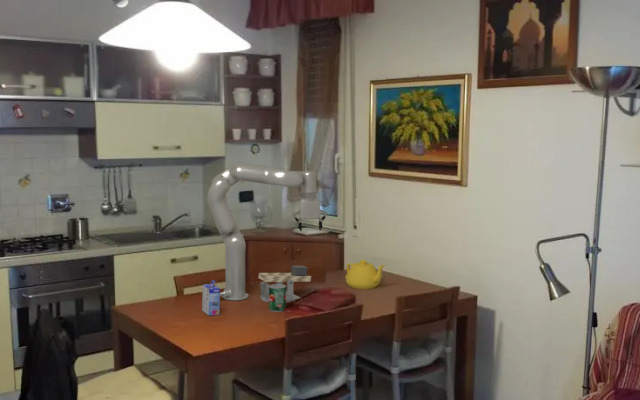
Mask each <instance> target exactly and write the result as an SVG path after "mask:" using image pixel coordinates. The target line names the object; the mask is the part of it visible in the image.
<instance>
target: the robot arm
mask: <svg viewBox="0 0 640 400" xmlns="http://www.w3.org/2000/svg"><path fill="white" fill-rule="evenodd" d="M241 181H242V182H250V183H258V184H263V185H271V186H272V185H273V186H274V185H275V186H278V187H279V186H280V187H288V188H293V189H296V188H299V187H301V191H300V193H299V194H298V197H299V198H300V200H299V210H297V211H295V212H294V213H292V218H294V220H295V221H296V222H297V224H298V225H297V226H298V230H299V231H300V232H302V230H303V227H302V221H303V220H316V219H317V220H318V230H319V231H322V228H323V222H324V221H325V219H326V217H327V215H328V212H327V211H325V210H322V209H321V203H320V199H319V197H318V191H317V173H316V171H315V170H303V171H302V170H301V171H299V170H297V171H296V170H290V171H289V170H282V169H277V168H274V167H271V166H267V165H258V164H252V163H245V162H241V161H237V162H235V163H233V164H232V165H230V166H229V167H227V168H226V169H225V170H223V171H221V172H220V173H219V174H218V175H216V176H214V177H213V179H212V180H211V185H210V187H209V189H208V191H207V195H206V197H207V205H208V208H209V210H210V213H211V215H212V217H213V220H214V223H215V226H216V228H217V230H218V233H219V235H220V238H221V239H222V242H223V244H224V246H225V247H224V248H225V253H224V254H225V255H224V257H225V258H224V259H225V263H224V264H225V266H224V267H225V268H224V269H225V274H224V275H225V288H224V289H223V291H222V292H221V291H220V297H222V299H223V300H225V301H226V300H227V301H242V300H246V299H248V298H249V293H246V250H247V249H246V247H247V246H246V240H245V238H244V236H243V235H242V233H241V231H240V228H239V227H238V224H237V222H236V219H235V216H234V215H233V214H232V211H231V209H230V207H229V205H228V202H227V200H226V199H227V198H226V196H227V193H228V192H229V190H230V188H231V187H232V186H234V185H235V184H237V183H239V182H241ZM321 214H322V215H323V216H321ZM298 215H299V218H298V217H297V216H298Z"/></svg>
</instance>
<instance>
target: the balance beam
mask: <svg viewBox="0 0 640 400" xmlns="http://www.w3.org/2000/svg"><path fill="white" fill-rule="evenodd" d="M258 279H260V280H262V282H266V283H276V282H283V283H287V280H293V283H294V282H297V283H298V282H303V283H304V282H311V281H312V276H311V275H308V274H307V276H291V272H259V273H258Z"/></svg>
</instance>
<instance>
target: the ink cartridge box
mask: <svg viewBox="0 0 640 400" xmlns="http://www.w3.org/2000/svg"><path fill="white" fill-rule="evenodd" d="M215 284H216V281H215V280H214V279H212V280H211V282H210V283H209V284H208V283H207V284H206V283H205V284H202V292H201V293H202V299H201V302H202V303H201V306H202V307H201V311H202V312H203V313H205V314H206V315H207V316H208V317H211V316H219V315H220V312H221V311H220V309H221V308H220V307H221V306H220V305H221V304H220V303H221V302H220V300H221V299H220V298H221V296H220V292H221V288H220V287H219V286H217V285H215Z"/></svg>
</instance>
